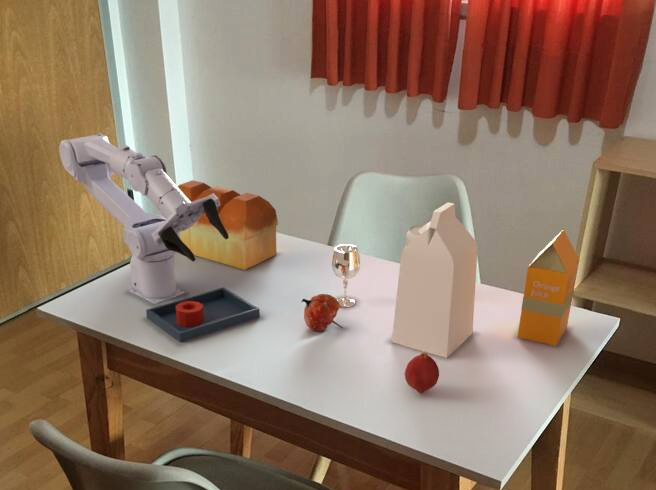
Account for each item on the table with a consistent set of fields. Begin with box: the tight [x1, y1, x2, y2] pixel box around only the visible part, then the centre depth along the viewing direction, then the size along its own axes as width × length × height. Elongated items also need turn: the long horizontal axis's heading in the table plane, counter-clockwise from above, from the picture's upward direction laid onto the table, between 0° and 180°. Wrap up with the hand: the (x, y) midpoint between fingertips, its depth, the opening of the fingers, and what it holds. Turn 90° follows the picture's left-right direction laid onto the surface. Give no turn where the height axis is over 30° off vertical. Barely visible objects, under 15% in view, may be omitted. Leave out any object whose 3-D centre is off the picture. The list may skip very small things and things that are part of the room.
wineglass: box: [331, 244, 361, 308], centre depth 170 cm, size 6×6×12 cm
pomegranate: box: [300, 293, 344, 333], centre depth 161 cm, size 7×7×10 cm
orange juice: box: [517, 228, 580, 347], centre depth 157 cm, size 8×9×20 cm
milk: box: [391, 201, 478, 359], centre depth 153 cm, size 12×12×26 cm
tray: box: [145, 286, 261, 343], centre depth 166 cm, size 13×18×2 cm
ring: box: [176, 301, 204, 327], centre depth 164 cm, size 5×5×3 cm
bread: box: [162, 179, 279, 271], centre depth 194 cm, size 25×12×15 cm, turn 55°
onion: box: [404, 351, 440, 394], centre depth 140 cm, size 6×6×8 cm
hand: (209, 246), depth 155 cm, fingers open, 7 cm apart
